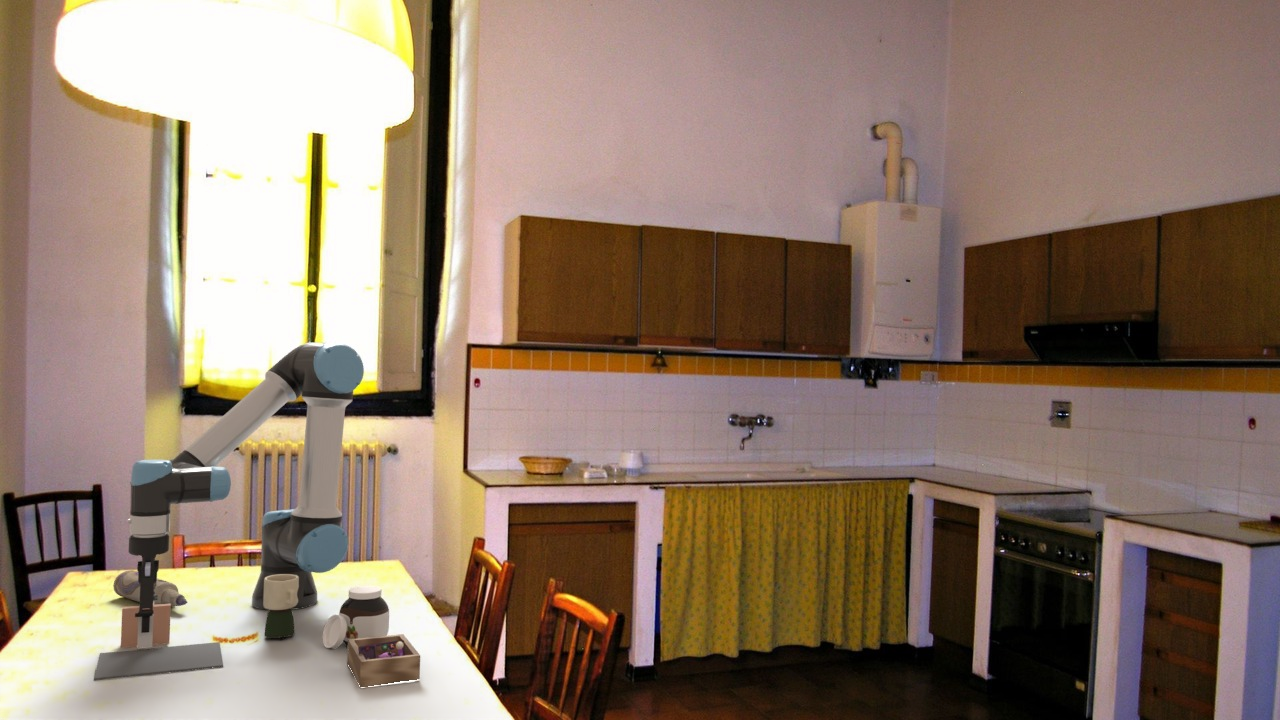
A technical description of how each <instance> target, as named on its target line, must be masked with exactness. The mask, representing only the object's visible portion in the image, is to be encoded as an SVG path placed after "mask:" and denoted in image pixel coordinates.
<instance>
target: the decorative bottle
mask: <svg viewBox="0 0 1280 720" xmlns="http://www.w3.org/2000/svg"><path fill="white" fill-rule="evenodd" d="M138 574H139V573H138V571H136V570H126V571H123V572H121V573H119V574H118V575H117V576H116V577H115V579H114V582H113V591H114V593H116V595H118V596H119V597H121V598H122V597H123V598H126V599H129V600H132V601H134V602H138V603H140V585H139V584H138ZM154 591H155V594H154V596H155V595H158V600H153V601H154V605H157V604H171V607H180V606H184V605H186V604H188V601H187V599H186V597H185V596H184V595H183V594H181V593H180V592H179V589H178V586H177V585H176V584H174V583H173V582H170V581H168V580H163V579H161V578H158V577H157V582H156V584H154Z"/></svg>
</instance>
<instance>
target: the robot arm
mask: <svg viewBox="0 0 1280 720" xmlns="http://www.w3.org/2000/svg"><path fill="white" fill-rule="evenodd" d="M364 368H365V367H364V363H363V360H362V358H361V356H360V354H358V352H357V351H356V350H355V349H354V348H352V347H351V346H349V345H346V344H343V343H340V342H339V343H338V342H313V341H311V342H305V343H303V344H301V345H299V346H297V347H295V348H294V349H292V350H291V351H290V352H288V353H287V354H285V355H284V357H282V358H281V359H280V360H278V361H277V363H274V365H273V366H271V367H270V368H269V369H268V370H267V371H266V372H265V374H264V380H263V381H261V382H260V383H259V384H257V386H256V387H254V388H253V389H252V390H251V391H250V392H249V393H247V395H245V396H244V397H243V398H242V399H241V400H239V401H238V402H237V403H236V404H235V405H234V406H233V407H231V408H230V409H229V410H228V411H227V412H226V413H225V414H224V415H223V416H221V417H220V418H219V419H217V421H216V422H215V423H213V425H211V426H210V427H209V428H208V429H207V430H205V432H203V433H202V434H200V435H199V437H198V438H196V440H194V441H193V442H192V443H190V445H188V446H187V447H186V448H185V449H183V450H182V452H180V453H179V454H178V455H177V456H176V457H174V458H172V459H169V460H168V459H143V460H141V459H140V460H138V461H136V462H134V463H133V465H132V469H131V477H130V484H129V485H130V504H129V505H130V507H129V509H130V512H129V515H130V516H129V517H130V518H128V519H126V521H125V522H126V524H129V533H130V534H131V535H130V536H129V538H128V554H130V555H131V556H136V557H137V556H141V558H142V559H141V560H139V561H137V568H136V569H137V572H138V573H139V574H138V584H139V585H140V602H139V605H138V606H139V612H138V613H135V617H138V641H137V646H136V648H137V649H136V650H139V649H150V648H153V645H152V639H153V612H154V611H153V605H154V601H153V600H158V595H155V596H154V594H155V591H154V584H156V582H157V578H158V572H159V566H160V565H159V564H160V560H158V559H156V557H157V555H164V554H166V553H168V551H169V550H170V535H169V534H168V533H169V532H170V531H171V507H172V506H171V505H178V504H190V503H191V504H193V503H205V502H209V503H212V502H215V501H222V500H226V498H227V497H228V496H229V494H230V491H231V486H232V485H231V484H232V481H231V475H230V472H229V470H228V469H227V467H224V466H218V465H219V464H220V463H221V462H222V461H224V459H226V458H227V457H228V456H229V455H230V454H231V453H232V452H233V451H234V450H235V449H237V448H238V447H239V446H240V445H241V444H242V443H244V441H246V440H247V439H248V438H249V437H250V436H251V435H252V434H254V433H255V432H256V430H258V429H259V428H260V427H261V426H262V425H263V424H265V423H266V422H267V421H268V420H269V419H270V418H271V417H272V416H274V415H275V414H276V413H277V412H278V411H279V410H280V409H281V408H282V407H283V406H285V404H287V403H288V402H295V401H296V400H297V399H299V397H301V398H302V400H303V401H304V402H305V403H306V405H307V407H306V408H307V409H306V421H305V431H304V443H303V454H302V464H301V465H302V466H301V475H300V486H299V487H300V488H299V498H298V505H297V507H295V508H294V509H292V508H291V509H282V510H272V511H268V512H266V513H264V515H263V517H262V524H261V550H260V551H261V552H260V553H261V555H260V557H261V558H260V573H259V577H258V579H257V582H256V584H255V588H254V590H253V593H252V597H251V606H252V605H253V606H252V607H254V608H257V609H259V610H266V611H269V610H270V609H266V608H264V606H263V596H264V579H265V577H267V576H271V575H278V574H292V575H297V576H298V577H299V588H298V591H297V597H298V603H297V605H296V606H294V607H292V608H291V610H297V609H296V608H299V609H302V607H304V608H307V607H306V606H308V607H310V606H309V605H311V606H313V605H315V604H316V603H317V602H318V591H317V587H316V584H315V580H314V577H313V573H316V574H323V573H327V572H330V571H332V570H333V569H335V568H336V567H337V566H338V565H339V564H341V563H342V562H343V561H344V559H345V557H346V555H347V553H348V549H349V537H348V535H347V533H346V532H345V530H344V529H343V528H342V523H343V512H342V511H341V510H340V509H339V508H338V507H337V503H338V492H339V483H340V482H339V481H340V471H341V459H342V458H341V457H342V448H343V447H342V446H343V437H344V436H343V435H344V426H345V425H344V424H345V415H346V414H345V412H346V408H347V406H348V405H350V404H351V403H352V402H353V398H354V390H356V389H357V387H358V386H359V385H360V384H361V383H362V381H363V378H364V373H365V372H364V371H365V370H364ZM145 608H150V609H145ZM142 609H144V610H142Z"/></svg>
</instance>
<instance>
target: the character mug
mask: <svg viewBox="0 0 1280 720" xmlns="http://www.w3.org/2000/svg"><path fill="white" fill-rule="evenodd" d="M298 588H299V577H298V576H297V575H292V574H278V575H271V576H267V577H265V579H264V596H263V606H264V608H266V609H270V610H268V612H267V614H266V621H265V626H264V635H263V636H264V637H265V638H268V639H271V638H272V639H275V638H276V639H278V638H281V639H282V638H283V639H284V638H285V637H293V636H295V634H296V633H295V630H296V629H295V620H294V612H293V609H291V608H292V607H294V606H296V605H297V603H298V597H297V591H298Z"/></svg>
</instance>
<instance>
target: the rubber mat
mask: <svg viewBox="0 0 1280 720" xmlns="http://www.w3.org/2000/svg"><path fill="white" fill-rule="evenodd" d="M98 655H99V656H98V658H97V665H96V668H95V673H94V677H93V681H101V680H111V679H118V678H119V679H123V678H132V677H142V676H149V675H150V676H151V675H160V673H161V674H169V672H171V673H179V671H181V672H186V671H187V672H188V670H190V671H196V670H195V669H200V670H205V669H204V668H210V669H213V668H212V667H219V668H224V661H223V655H222V649H221V642H220V641H217V642H206V643H195V644H194V643H193V644H184V645H174V646H173V645H172V646H164V647H149V648H138V649H129V650H121V651H120V650H119V651H107V652H100V653H99V654H98ZM202 668H203V669H202Z"/></svg>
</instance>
